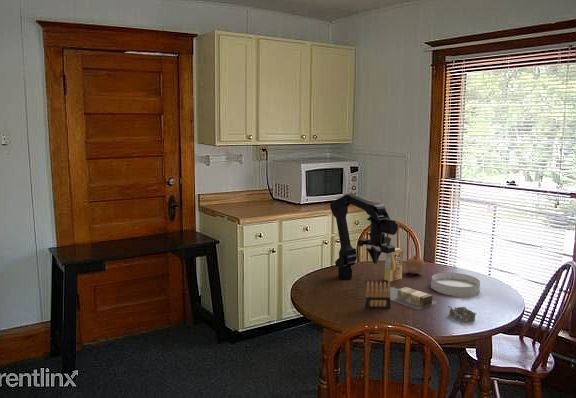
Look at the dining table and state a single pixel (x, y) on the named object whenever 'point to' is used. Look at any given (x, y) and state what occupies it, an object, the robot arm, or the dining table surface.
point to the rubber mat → (394, 298)
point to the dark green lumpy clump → (466, 314)
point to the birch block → (414, 296)
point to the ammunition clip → (377, 296)
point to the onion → (415, 264)
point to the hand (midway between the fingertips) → (375, 263)
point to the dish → (456, 284)
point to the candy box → (393, 265)
